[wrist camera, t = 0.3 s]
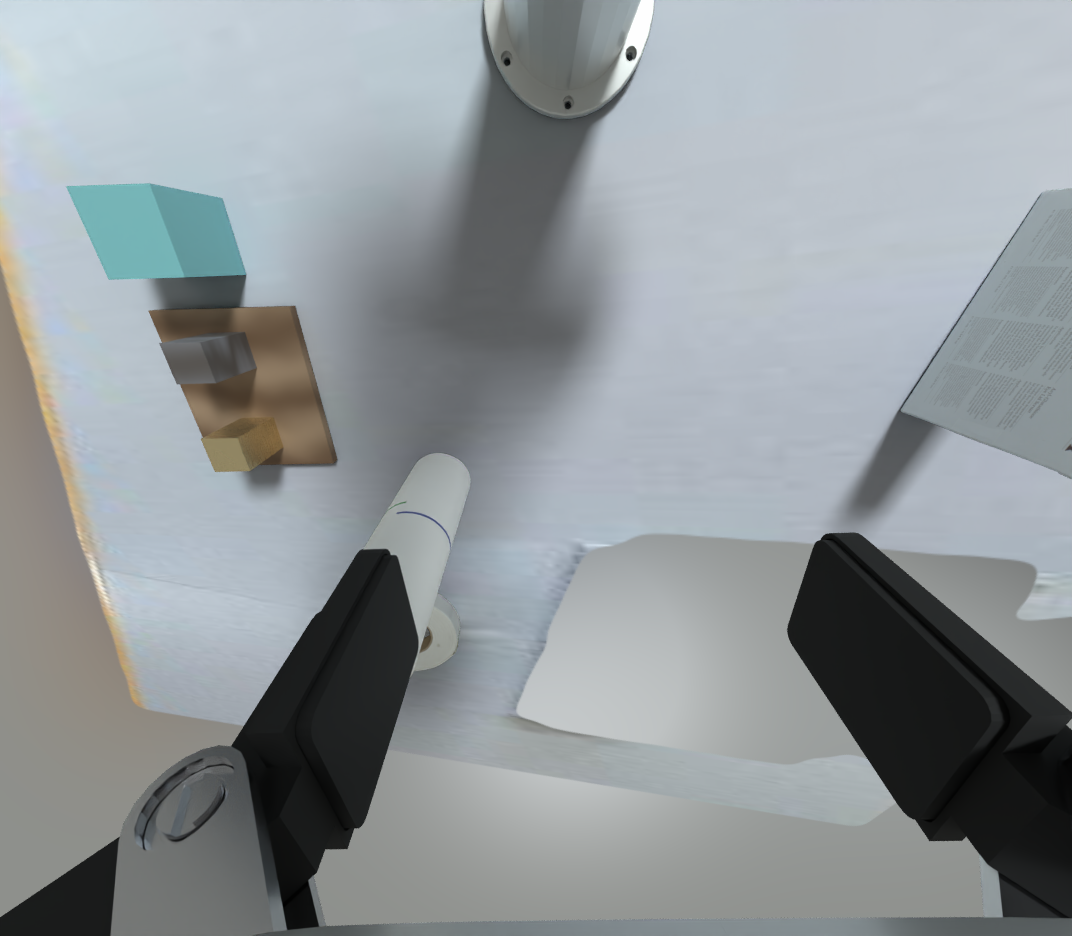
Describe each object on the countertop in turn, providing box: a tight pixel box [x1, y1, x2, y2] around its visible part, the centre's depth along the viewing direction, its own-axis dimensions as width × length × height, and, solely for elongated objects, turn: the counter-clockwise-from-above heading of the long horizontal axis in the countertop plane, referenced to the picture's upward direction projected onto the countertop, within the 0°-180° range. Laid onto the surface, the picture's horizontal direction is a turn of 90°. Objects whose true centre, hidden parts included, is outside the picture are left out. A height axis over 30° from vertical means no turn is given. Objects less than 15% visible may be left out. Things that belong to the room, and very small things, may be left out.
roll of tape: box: [414, 593, 460, 671], centre depth 59 cm, size 16×15×3 cm
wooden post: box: [201, 417, 283, 472], centre depth 43 cm, size 4×4×6 cm
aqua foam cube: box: [66, 184, 246, 280], centre depth 34 cm, size 6×6×8 cm
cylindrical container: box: [364, 453, 471, 677], centre depth 38 cm, size 7×7×25 cm
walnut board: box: [149, 306, 337, 465], centre depth 41 cm, size 17×14×7 cm
